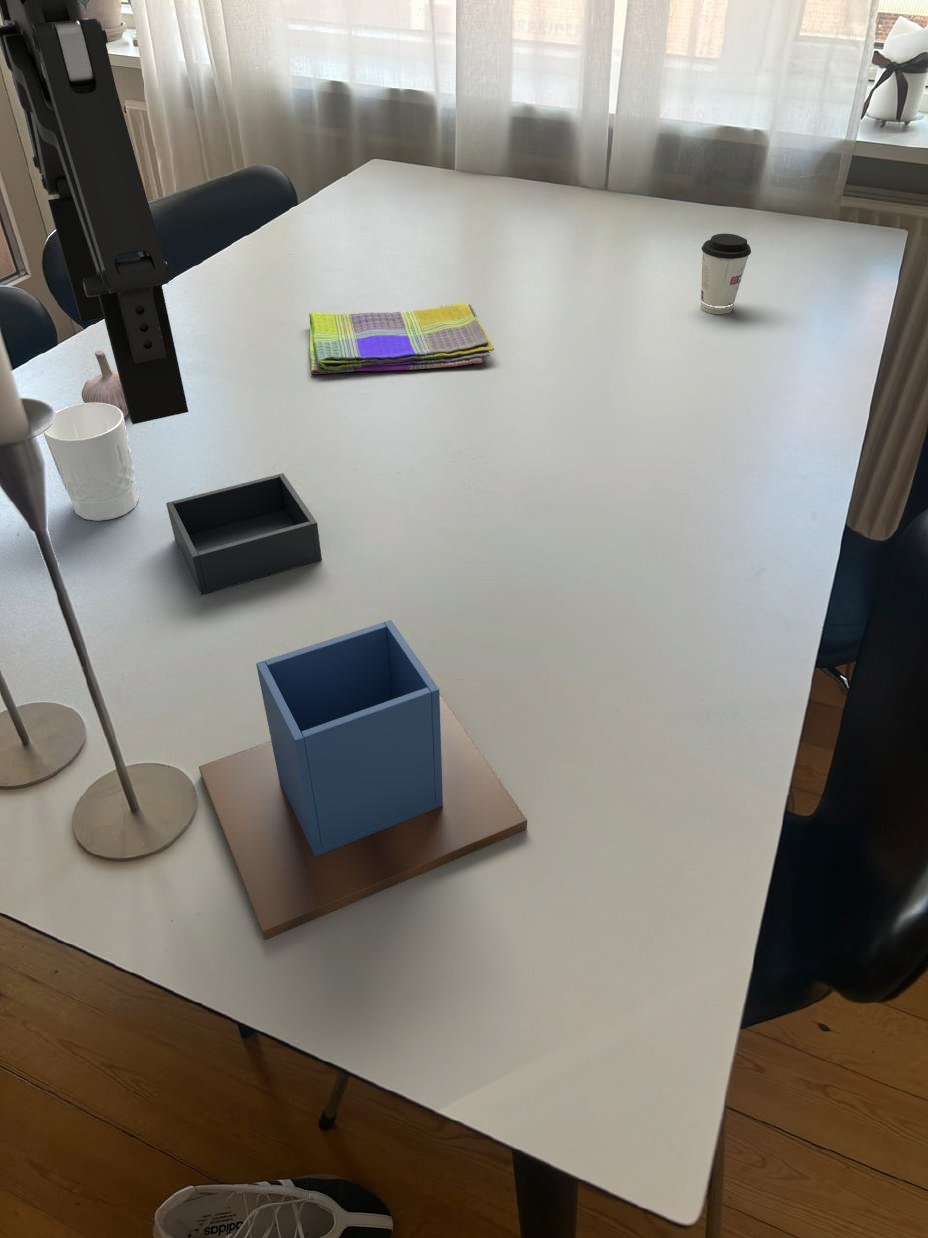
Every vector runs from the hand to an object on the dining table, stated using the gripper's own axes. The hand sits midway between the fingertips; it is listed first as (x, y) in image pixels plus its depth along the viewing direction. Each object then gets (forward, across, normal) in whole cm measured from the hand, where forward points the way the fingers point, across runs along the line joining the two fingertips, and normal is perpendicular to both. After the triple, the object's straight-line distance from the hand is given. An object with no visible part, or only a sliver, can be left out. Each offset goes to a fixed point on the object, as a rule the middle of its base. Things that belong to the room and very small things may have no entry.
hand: (129, 360), depth 52 cm
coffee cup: (+35, +56, -90) cm, 112 cm away
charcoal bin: (+35, +29, -10) cm, 46 cm away
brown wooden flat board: (+35, -6, -8) cm, 36 cm away
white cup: (+35, +44, +1) cm, 56 cm away
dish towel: (+35, +66, -43) cm, 86 cm away
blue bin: (+34, -6, -8) cm, 35 cm away
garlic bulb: (+35, +65, -4) cm, 74 cm away
